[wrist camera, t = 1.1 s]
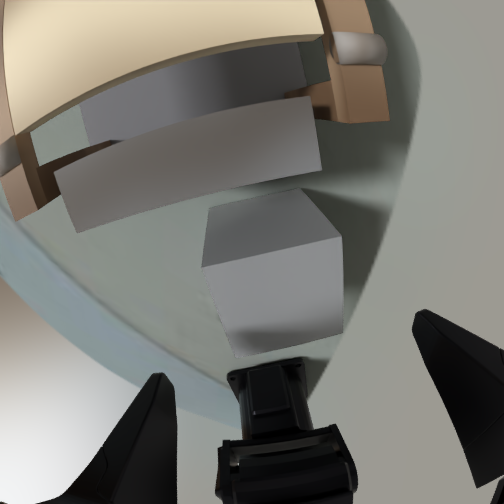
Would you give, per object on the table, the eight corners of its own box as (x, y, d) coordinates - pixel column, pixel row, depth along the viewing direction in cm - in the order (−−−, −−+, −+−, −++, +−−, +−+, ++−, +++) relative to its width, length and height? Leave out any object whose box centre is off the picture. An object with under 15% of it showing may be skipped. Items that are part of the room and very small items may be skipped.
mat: (308, 112, 13) (312, 113, 12) (101, 166, 13) (97, 168, 12) (260, -64, 7) (261, -69, 6) (68, -8, 7) (64, -10, 6)
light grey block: (310, 264, 17) (342, 332, 12) (231, 282, 17) (235, 358, 12) (300, 187, 15) (341, 235, 9) (209, 208, 15) (201, 268, 9)
